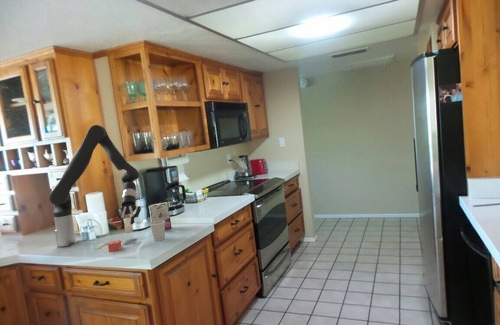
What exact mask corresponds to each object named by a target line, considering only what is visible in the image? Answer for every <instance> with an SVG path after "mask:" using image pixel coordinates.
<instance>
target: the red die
mask: <svg viewBox="0 0 500 325" xmlns="http://www.w3.org/2000/svg"><path fill="white" fill-rule="evenodd" d="M121 241H122V240H120V239H118V240H112V241H109V242H110V243H109V244H108V252H116V251H120V250H121V248H122V245H121Z"/></svg>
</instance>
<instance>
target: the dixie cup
mask: <svg viewBox="0 0 500 325" xmlns="http://www.w3.org/2000/svg"><path fill="white" fill-rule="evenodd" d="M149 226H150V229H151V233H152V236H153V240H154V242H162V241H164V240H165V239H166V236H165V235H166V230H165V221H164V220H158V221H153V222H151V221H150V222H149Z"/></svg>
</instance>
